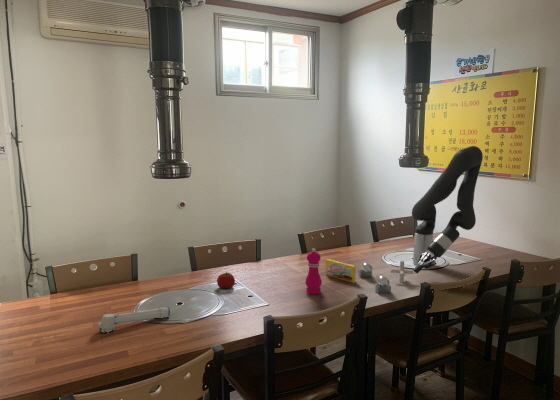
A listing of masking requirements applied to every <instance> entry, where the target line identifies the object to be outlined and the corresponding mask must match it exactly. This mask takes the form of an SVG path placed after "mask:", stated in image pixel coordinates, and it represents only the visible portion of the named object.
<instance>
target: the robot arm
mask: <svg viewBox="0 0 560 400" xmlns="http://www.w3.org/2000/svg"><path fill="white" fill-rule="evenodd" d="M483 159H484V155H483V152H482V150H481V148H480V147H478V146H476V145H471V146H468V147H464V148H462V149H460V150H457V151H456V152H455V154H454V155H453V156H452V158H451V159H450V161H449V163H448V165H447V166H446V168H445V169H444V170H443V171H442V172H441V174H440V175H439V176H438V178H437V179H436V180H435V181H434V183H433V184H432V185H431V187H430V188H429V189H428V190H427V191H426V193H425V194H424V195H423V196H422V197H421V198H419V200H418V201H417V202H416V203H415V204H414V205H413V207H412V210H411V216H412V218H413V219H414V220H415V221H419V222H420V221H421V223H420V224H418V225H416V226H415V228H414V244H413V253H412V255H413V256H412V263H413V265H415V267H413V269H412V270H413V273H416V274H419V273H420V272H421V271H422V269H428V268H431V267H434V266H435V265H437V261H436V260H437V259H438V258H442V256H443V255H444V254H445V253H446V252H447V250H449V249H450V247H451V246H452V245H453V244H454V242H456V240H458V238H459V237H460V232H459V231H458V229H457V228H458V227H460V228H462V229H463V230H466V231H470V230H472V229H473V228H474V227H475V225H476V222H477V221H476V219H477V217H476V213H475V209H474V201H475V200H474V199H475V190H476V186H477V185H476V184H477V180H478V177H479V173H480V170H481V168H482V167H481V166H482V162H483ZM463 174H464V177H463V178H462V181H461V183H460V185H459V187H458V191H457V196H456V198H457V199H456V208H457V211H456V212H454V213H453V214H452V215H451V217H450V219H449V221H448V222H447V225H446V226H445V228H444V229H443V230H442V231H441V232H440V233H439V234H438V235H436V237H435V238H434V230H435V228H436V219H437V208H436V205H437V204H439V203H441V202H443V201H444V200H446V199H447V198H449V197H450V196H451V194H452V193H453V192H455V191H454V190H456V187H457V183H458V180H459V178H460V177H461V176H462V175H463Z"/></svg>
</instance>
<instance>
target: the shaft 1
mask: <svg viewBox="0 0 560 400" xmlns="http://www.w3.org/2000/svg"><path fill="white" fill-rule="evenodd" d="M359 267H360V269H357V271H358V272H357V274H358V277H359V278H363V279H364V278H371V277H372V278H373V266H372V265H370V263H369V262H367V261H366V260H365V261H364V260H363V261H361V262H360V264H359Z"/></svg>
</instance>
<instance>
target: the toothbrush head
mask: <svg viewBox="0 0 560 400" xmlns="http://www.w3.org/2000/svg"><path fill="white" fill-rule="evenodd" d="M165 316H171V310H170V307H168V306H167V307H165V306H164V307H161V306H159V307H158V308H151V309H145V310H143V309H142V310H138V311H132V312H126V313H125V312H124V313H119V314H112V313H106V314H103V315H102V317H101V320H100V322H99V323H98V324H97V327H98V331H100V332H103V333H105V332H108V331H112V330H114V329H115V328H116V329H117V326H118V325H119V324H123V323H132V322H141V321H143V322H144V321H149V320H148V319H152V320H155V319H154V318H161V317H165ZM100 332H99V333H100Z"/></svg>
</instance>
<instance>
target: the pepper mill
mask: <svg viewBox="0 0 560 400" xmlns="http://www.w3.org/2000/svg"><path fill="white" fill-rule="evenodd" d="M316 250H317V249H316V248H312V249H311V251H309V252H308V253H307V254H306V260H307V261H308V262H307V267H308V273H307V276H306V278H305V282H304V284H305V285H306V293H307V294H309V295H319V294H321V286H322V283H323V282H322V277H321V275H320V273H319V266H320V261H321V254H320V253H319V252H317V251H316Z"/></svg>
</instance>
